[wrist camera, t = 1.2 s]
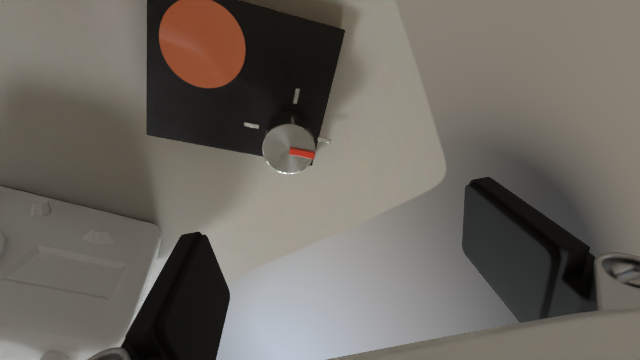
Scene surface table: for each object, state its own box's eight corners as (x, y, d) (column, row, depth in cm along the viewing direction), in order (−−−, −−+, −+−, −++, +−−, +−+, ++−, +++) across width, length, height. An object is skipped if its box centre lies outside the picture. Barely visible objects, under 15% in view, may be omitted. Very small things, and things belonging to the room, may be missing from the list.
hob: (156, 139, 31) (145, 148, 29) (159, -20, 25) (145, -26, 23) (318, 169, 34) (321, 179, 32) (353, 34, 28) (359, 33, 26)
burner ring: (158, 77, 26) (157, 78, 26) (160, -15, 23) (159, -15, 23) (240, 95, 27) (239, 96, 27) (251, 10, 25) (250, 10, 24)
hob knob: (262, 149, 30) (257, 170, 25) (270, 105, 28) (266, 119, 23) (305, 157, 31) (309, 179, 26) (315, 115, 29) (321, 131, 24)
